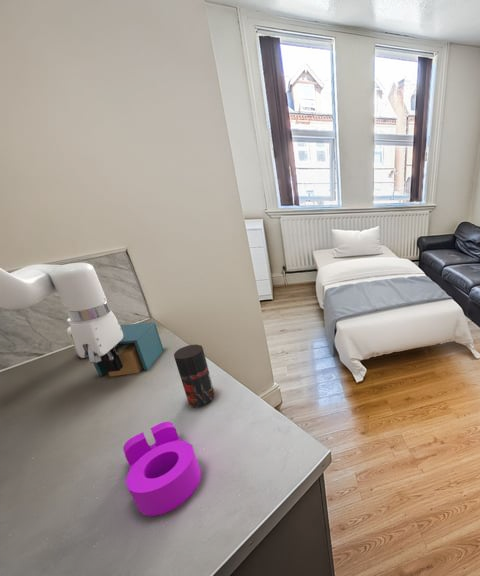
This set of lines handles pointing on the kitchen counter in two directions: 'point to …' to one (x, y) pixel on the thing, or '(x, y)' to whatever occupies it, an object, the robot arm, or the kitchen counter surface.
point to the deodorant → (194, 375)
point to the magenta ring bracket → (161, 470)
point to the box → (128, 360)
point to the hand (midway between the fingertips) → (115, 369)
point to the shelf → (139, 343)
